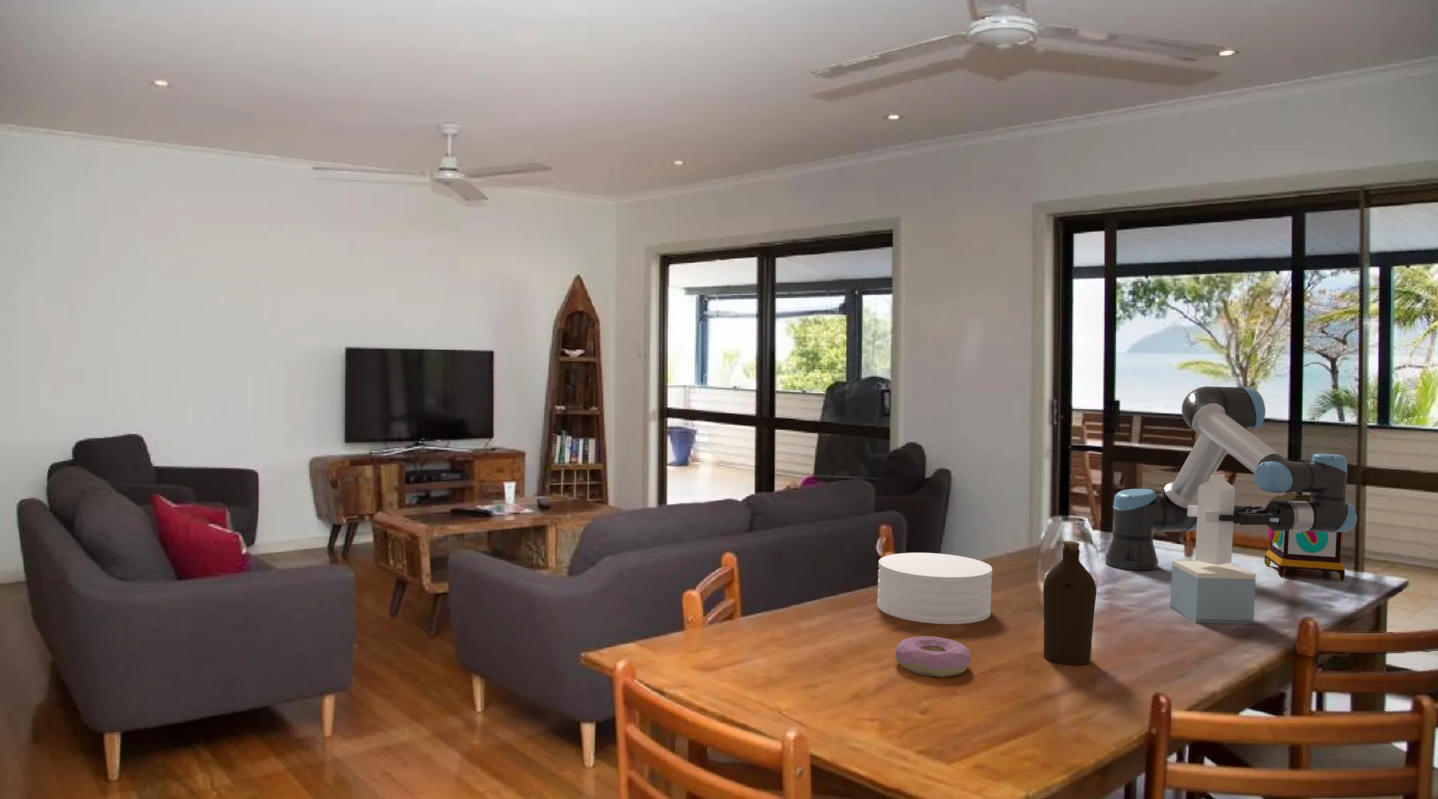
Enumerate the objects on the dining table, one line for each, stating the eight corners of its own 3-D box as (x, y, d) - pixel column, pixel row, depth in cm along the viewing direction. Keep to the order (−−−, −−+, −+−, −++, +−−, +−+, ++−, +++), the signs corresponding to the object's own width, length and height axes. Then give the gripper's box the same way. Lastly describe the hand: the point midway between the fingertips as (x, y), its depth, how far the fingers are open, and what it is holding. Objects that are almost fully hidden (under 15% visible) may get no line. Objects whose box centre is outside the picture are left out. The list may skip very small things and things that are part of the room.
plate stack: (861, 613, 244) (863, 567, 243) (896, 590, 268) (898, 548, 268) (975, 631, 231) (977, 582, 230) (1001, 604, 255) (1003, 560, 255)
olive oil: (1102, 666, 206) (1107, 547, 205) (1053, 666, 205) (1058, 547, 203) (1079, 650, 216) (1083, 537, 215) (1032, 651, 215) (1036, 537, 214)
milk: (1194, 560, 249) (1198, 473, 247) (1209, 558, 252) (1213, 472, 250) (1217, 565, 243) (1220, 476, 242) (1232, 563, 246) (1235, 475, 245)
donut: (879, 666, 203) (880, 642, 203) (921, 651, 214) (922, 628, 214) (944, 686, 192) (945, 660, 192) (985, 669, 203) (986, 645, 203)
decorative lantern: (1329, 569, 307) (1334, 473, 305) (1351, 583, 288) (1357, 481, 286) (1258, 564, 312) (1262, 469, 311) (1275, 577, 293) (1280, 477, 291)
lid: (1226, 566, 254) (1226, 561, 254) (1255, 579, 240) (1255, 574, 240) (1172, 565, 255) (1172, 560, 255) (1197, 578, 241) (1198, 573, 241)
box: (1224, 609, 255) (1226, 566, 254) (1253, 624, 241) (1255, 579, 240) (1170, 607, 255) (1172, 565, 255) (1195, 622, 241) (1197, 578, 241)
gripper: (1311, 538, 236) (1215, 536, 237) (1264, 523, 257) (1176, 521, 257) (1313, 507, 236) (1217, 505, 236) (1266, 494, 257) (1178, 492, 257)
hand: (1196, 513), depth 247 cm, fingers closed on milk, 8 cm apart
